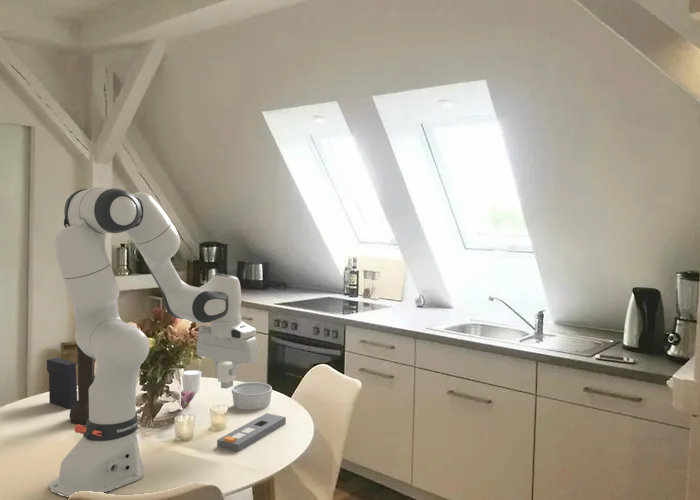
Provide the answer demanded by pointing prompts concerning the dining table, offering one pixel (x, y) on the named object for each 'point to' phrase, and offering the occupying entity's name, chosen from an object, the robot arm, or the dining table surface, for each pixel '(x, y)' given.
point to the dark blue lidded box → (62, 382)
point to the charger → (225, 375)
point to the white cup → (191, 380)
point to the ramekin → (251, 395)
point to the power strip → (251, 432)
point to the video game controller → (186, 398)
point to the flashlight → (82, 389)
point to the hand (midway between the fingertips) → (226, 374)
